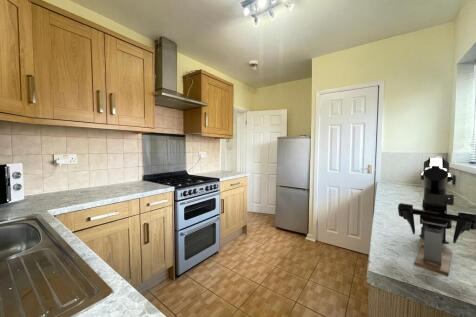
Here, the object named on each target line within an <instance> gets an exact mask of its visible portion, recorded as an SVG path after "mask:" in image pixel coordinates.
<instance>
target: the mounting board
mask: <svg viewBox="0 0 476 317" xmlns="http://www.w3.org/2000/svg"><path fill="white" fill-rule="evenodd" d="M452 255H453V252H452V251H450V250H445V249H444V248H442V259H441V265H437V264H434V263H430V262H427V261H424V243H422V245H421V247H420V249H419V252H418V254H417V255H416V258H415V260H414V261H413V265H415V266H418V267H422V268H425V269H427V270H430V271H434V272H435V273H440V274H443V275H446V276H449V274H450V267H451V262H452Z"/></svg>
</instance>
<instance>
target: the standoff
mask: <svg viewBox="0 0 476 317" xmlns="http://www.w3.org/2000/svg"><path fill="white" fill-rule="evenodd" d="M423 239H424V241H423V244H424V261H427V262H430V263H434V264H437V265H441V259H442V249H443V243H442V230H437V229H432V228H427V227H425V233H424V238H423Z"/></svg>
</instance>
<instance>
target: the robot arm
mask: <svg viewBox="0 0 476 317" xmlns="http://www.w3.org/2000/svg"><path fill="white" fill-rule="evenodd" d="M420 180H421V181H423V186H424V188H423V198H422V205H421V206H422V207H421V208H422V209H421V208H420V209H419V208H414V205H413V204H410V203H405V202H400V203H398V205H397V212H398V216H399V217H401V218H403V220H406V221H407V223H408V225H409V226H410V228H411V233H412V234H413V235H415V234H416V225H415V218H414V216H415V215H416V216H419V224H420V225H422V226H420V234H419V236H420V237H421V238H422V239H424V233H425V227H427V228H432V229H437V230H442V244H448V245H449V244H450V242H449V241H447V240H446V239H447V238H446V236H447V230H451V229H452V222H456V224H455V228H454V234H453V238H452V240H453V244H456V243H457V241H458V240H459V238H460V236H461V235H462V234H463V233H464V232H465V231H466V232H470V231H471V230H472V231H476V213H473V212H466V211H459V210H458V212H457V215H455V214H451V213H448V206H451V207H453V206H454V204H455V202H454V201H455V198H454V197H455V195H454V194H450V193H447V186H448V183H450V184H451V181H454V177H453V176H452V174H451V173H450V162H449V161H447V160H446V159H445V157H443V156H429V157H428V159H427V160H425V161H423V170H422V171H421V174H420Z"/></svg>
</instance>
